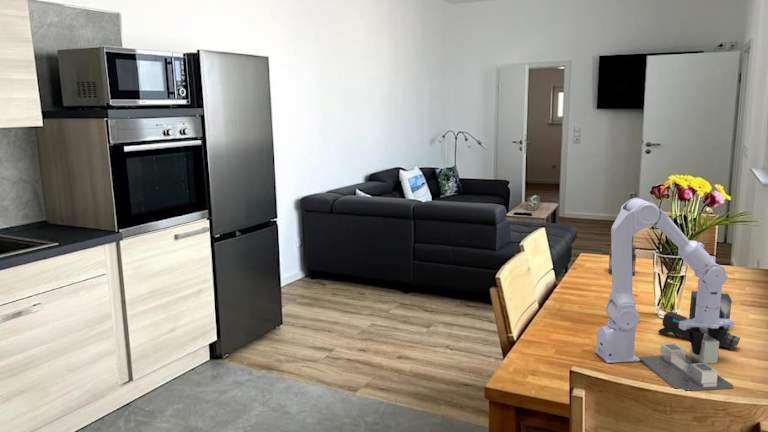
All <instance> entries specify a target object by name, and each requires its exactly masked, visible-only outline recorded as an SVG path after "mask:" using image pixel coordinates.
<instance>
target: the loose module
mask: <svg viewBox="0 0 768 432" xmlns="http://www.w3.org/2000/svg"><path fill="white" fill-rule="evenodd" d="M689 348H690V349H689V350H690V351H689V356H690V357H692V358H693V359H695V360H696V361H698V362H699V363H706V364H717V363H718V358H719V350H720V349H719V348H720V347H719V341H717V340H715V339H714V338H712V337H710V336H708V335H707V334H704V337H703V339H702V342H701V350H700V354H699V355H696V354H695V353H693V351H692V345H691V344H690V347H689Z"/></svg>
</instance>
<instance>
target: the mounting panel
mask: <svg viewBox="0 0 768 432" xmlns="http://www.w3.org/2000/svg"><path fill="white" fill-rule="evenodd" d="M659 351H660V353H659V355H650V356H637V357H638V358H639V359H640V361H639V362H640V363H642V364H643V365H644V366H645V367H647V368H648V369H649V370H650V371H652V372H653V373H655V374H656V375H657V376H658V377H659V378H661V379H662V380H663V381H665V382H666V383H668V384H669V385H670V386H671V387H672V386H673V387H672V388H673V389H675V388H677V389H683V390H688V389H689V390H696V391H709V390H710V391H711V390H725V389H727V390H729V389H734V384H732V383H731V382H729V381H728V380H726V379H725V378H723V377H722V376H720V375H718V374H719V373H718V372H719V371H718V370H716V369H715V368H713V367H712V366H711V365H709V364H708V363H702V362H700V361H698V360H697V359H695V358H694V357H692V356H691V355H688V354H686V351H687V350H685V349H684V348H682V347H681V346H679V345H678V344H677V343H661V344H660V350H659Z"/></svg>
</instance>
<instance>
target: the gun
mask: <svg viewBox="0 0 768 432" xmlns="http://www.w3.org/2000/svg"><path fill="white" fill-rule="evenodd" d="M684 320H689V317H687V316H684V315H681V314H678V313H676V312H673V311H667V312H666V313H664V315H663V319H662V322H661V323H662V326H663V327H662V328H660V329H659V330H658V334H659V335H660V336H665V335H666V334H669V333H671V334H673V336H675V337H676V338H678V337H683V338H685V339H687V340H690V338H689V336H688V334H687V332H686V330H682V329H680V328H679V321H684ZM700 330H701V332H703V333H704V334H707V335H708V329H707V328H700ZM740 340H741V337H740V336H737V335H734V334H731V333H730V332H729V331H728V332H727V334H726V335H725V336H724V338H723V339H722V340H721V342H720V344H719V348H721V347H724V348H727V349H729V351H733V350H735V347H737V346H738V345H739V342H740Z"/></svg>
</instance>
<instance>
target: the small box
mask: <svg viewBox="0 0 768 432" xmlns="http://www.w3.org/2000/svg"><path fill="white" fill-rule="evenodd" d="M696 299H697V290H691V295H690V306H689V316H688V319H693V318H695V311H696ZM732 301H733V300H732V298H731V296H730V295H729V294H728V293H722V292H721V302H720V313H719V318H720V319H730V318H731V310H732ZM724 329H725V330H727V332H728V333H729V329H730V328H729V327H724Z"/></svg>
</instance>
